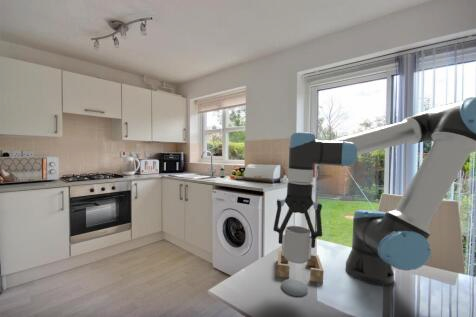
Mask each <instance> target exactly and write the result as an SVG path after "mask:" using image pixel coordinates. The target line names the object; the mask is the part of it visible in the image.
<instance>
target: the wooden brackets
mask: <svg viewBox="0 0 476 317" xmlns="http://www.w3.org/2000/svg"><path fill="white" fill-rule="evenodd" d="M281 255H282V250H278V255H277V270H276V274H277V275H276V276H277V277H282V278H290V267H291V266H290V264H289V261H288V260H287V259H286V258H285V257H284V256H281ZM306 266H309V267H310V275H309V279H310V280H309V281H310V282H316V283H322V284H323V283H324V271H325V270H324V268H323V265H322V262H321V258H320V257H319V255H318V254H311V259H308V261H307V262H306Z"/></svg>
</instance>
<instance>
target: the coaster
mask: <svg viewBox="0 0 476 317" xmlns="http://www.w3.org/2000/svg"><path fill="white" fill-rule="evenodd" d="M281 289H282V291H283V292H284V293H286V294H288V295H289V296H293V297H304V296H306V295H307V294H308V291H309V289H308V286H307V284H305V283H303V282H302V281H300V280H296V279H285V280H283V281H282V282H281Z"/></svg>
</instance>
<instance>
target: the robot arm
mask: <svg viewBox="0 0 476 317" xmlns="http://www.w3.org/2000/svg"><path fill="white" fill-rule="evenodd" d="M424 142H426V143H427V142H433V143H432V145H431V147H430V148H429V151H428V152H427V154H426V156H425V157H424V159H423V160H422V162H421V164H420V166H419V168H418V169H417V171H416V173H415V174H414V176H413V178H412V180H411V182H410V183H409V184H408V186H407V188H406V190H405V191H404V193H403V194H402V197H401V198H400V199H399V201H398V203H397V205H396V206H395V208H394V209H393V210H389V211H388V210H387V211H380V210H372V209H356V210H355V211H354V213H353V221H352V222H353V223H352V225H353V226H352V244H351V250H350V253H349V255H348V257H347V259H346V261H345V270H346V272H347V273H348V274H349V275H350V276H352V277H353V278H355V279H356V280H359V281H361V282H365V283H367V284H370V285H376V286H389V285H392V284H393V283H395V282H394V280H395V273H394V270H393V268H395V269H398V270H401V271H413V270H417V269H420V268H422V267H423V266H424V265H425V264H426V263H427V262H428V261H429V259H430V257H431V254H432V250H431V248H430V247H431V245H430V243H429V241H428V239H429V238H430V236H431V230H429V224H430V222H431V220H432V218H433V216H434V215H435V213H436V212H437V210H438V209H439V207H440V205H441V204H442V202H443V200H444V198H445V197H446V195H447V193H448V192H449V190H450V189H451V187H452V185H453V183H454V182H455V180H456V179H457V176H458V175H459V173H460V172H461V170H462V169H463V167H464V165H465V163H466V161H467V160H468V158H469V157H470V154H472V153H476V96H475V97H472V96H471V97H468V98H465V99H464V100H460V101H459V100H458V101H456V102H451V103H447V104H443V105H439V106H436V107H433V108H431V109H427V110H426V111H423V112H420V113H417V114H414V115H411V116H408V117H405V118H403V120H402V121H399V122H397V123H396V122H395V123H392V124H390V125H385V126H381V127H378V128H377V127H376V128H374V129H373V128H372V129H370V130H366V131H363V132H358V133H355V134H351V135H347V136H343V137H340V138H335V139H332V140H321V139H319V140H318V139H316V134H315V133H314V132H304V131H303V132H299V131H298V132H293V133H292V134H291V136H290V140H289V146H288V149H289V151H288V153H289V154H288V169H287V170H288V171H287V181H288V183H287V184H286V185H287V186H286V188H287V189H286V197H285V198H282V199H279V198H277V199H276V208H277V209H276V213H275V219H274V223H273V230H272V231H273V232H276V233H278V244H280V245H281V251H282V255H281V256H284V246H285V229H286V227H287V226H288V224H289V223H288V222H289V221H290V219H291V217H292V216H293V214H297V213H299V214H303V215H304V218H305V220H306V223H307V227H308V229H309V230H310V238H309V255H308V259H311V255H312V249H315V248H316V238H318V237H322V236H323V228H322V227H323V226H322V215H321V212H322V208H323V205H322V203H321V202H315V201H314V200H313V184H312V183H313V182H314V168H315V167H314V166H315V165H321V166H324V165H325V166H335V167H336V166H337V167H338V166H340V167H351V166H353V165H355V163H356V160H357V158H358V156H359V155H363V154H367V153H372V152H376V151H379V150H384V149H388V148H390V147H391V148H392V147H397V146H399V145H403V144H407V143H409V144H411V145H414V144H419V143H424ZM285 204H286V205H287V207H288V210H287V212H286V214H285V217H284V218H283V221H282V222H281V224H280V227H279V223H280V217H281V212H282V207H283V206H284V205H285ZM312 206H313V208H314V211H315V224H316V230H315V229H314V226H313V224H312V221H311V217H310V214H309V210H310V209H311V207H312Z"/></svg>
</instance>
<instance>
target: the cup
mask: <svg viewBox="0 0 476 317" xmlns="http://www.w3.org/2000/svg"><path fill="white" fill-rule="evenodd" d="M284 232H285V246H284V257H285V258H286V259H287V260H288V262H290V263H294V264H305V263H306V264H307V261H308V255H309V238H310V235H311V233H310V230H309V228H306V227H304V226H301V225H287V226H286V228H285V230H284Z"/></svg>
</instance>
